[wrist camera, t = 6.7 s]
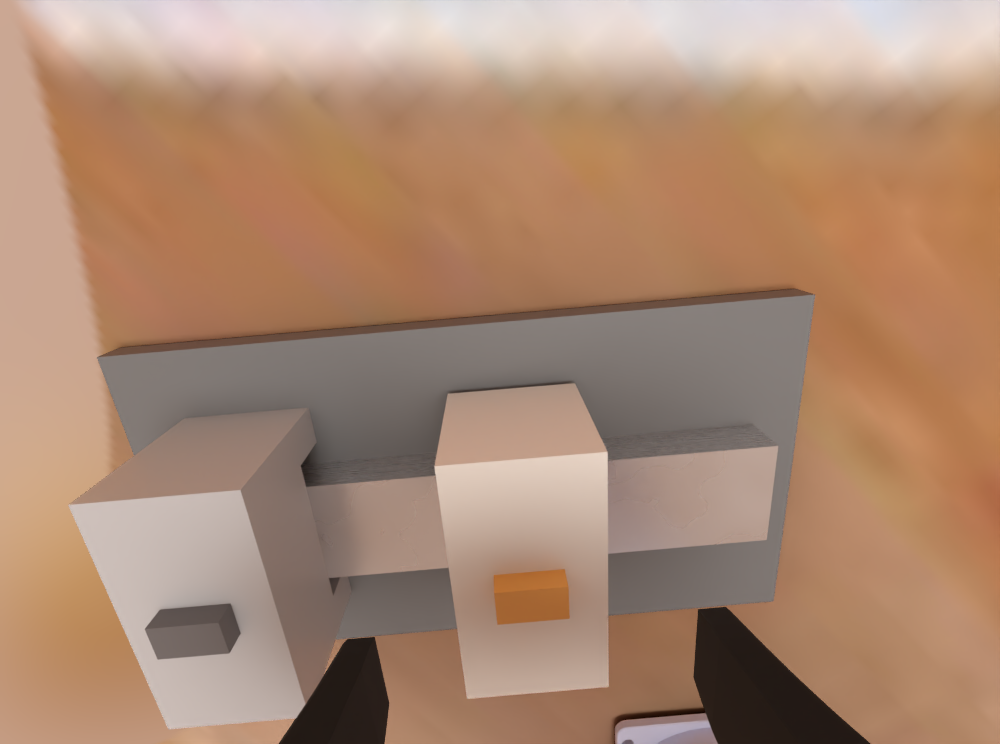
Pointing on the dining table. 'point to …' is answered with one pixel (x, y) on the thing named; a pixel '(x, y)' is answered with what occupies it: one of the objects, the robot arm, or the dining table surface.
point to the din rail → (631, 499)
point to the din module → (526, 539)
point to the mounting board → (504, 365)
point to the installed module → (218, 567)
